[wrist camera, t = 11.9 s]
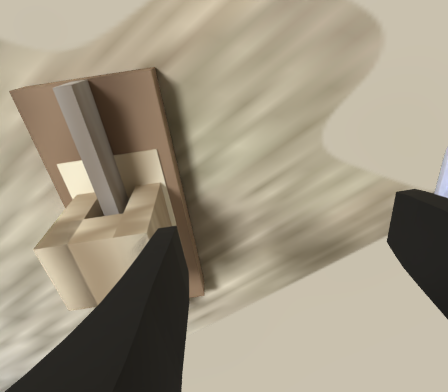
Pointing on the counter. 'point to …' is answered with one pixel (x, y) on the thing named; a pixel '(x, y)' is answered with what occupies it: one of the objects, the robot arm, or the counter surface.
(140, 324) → the robot arm
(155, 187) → the clip
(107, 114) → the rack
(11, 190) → the counter surface
